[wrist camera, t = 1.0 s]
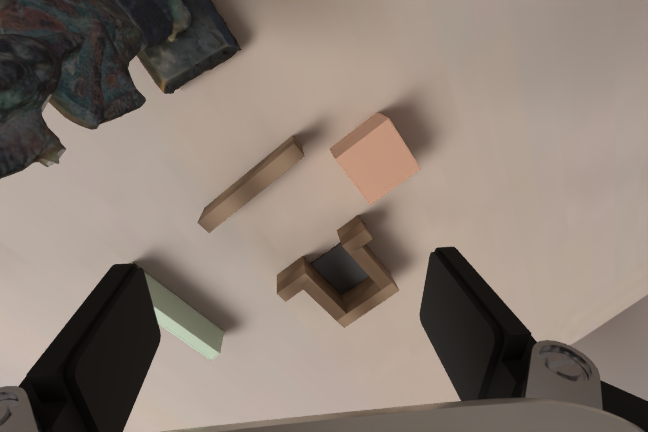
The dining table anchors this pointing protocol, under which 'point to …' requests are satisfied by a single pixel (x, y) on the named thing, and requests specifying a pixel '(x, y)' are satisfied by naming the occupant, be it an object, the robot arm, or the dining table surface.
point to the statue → (94, 63)
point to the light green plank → (184, 321)
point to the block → (375, 157)
